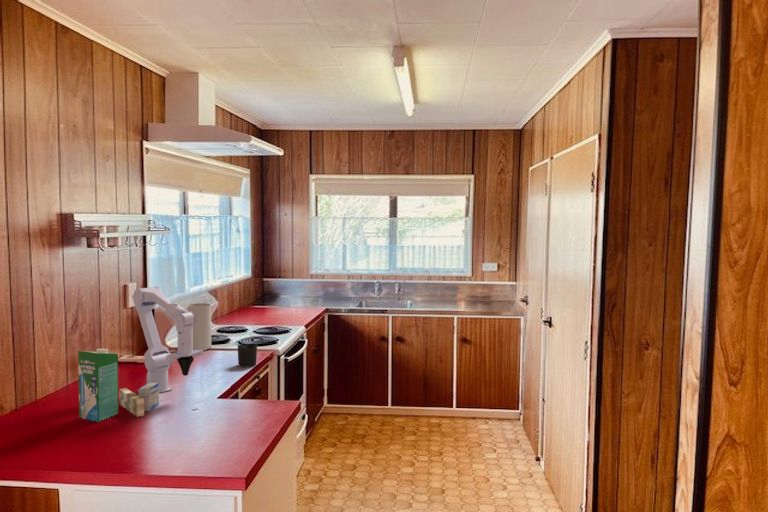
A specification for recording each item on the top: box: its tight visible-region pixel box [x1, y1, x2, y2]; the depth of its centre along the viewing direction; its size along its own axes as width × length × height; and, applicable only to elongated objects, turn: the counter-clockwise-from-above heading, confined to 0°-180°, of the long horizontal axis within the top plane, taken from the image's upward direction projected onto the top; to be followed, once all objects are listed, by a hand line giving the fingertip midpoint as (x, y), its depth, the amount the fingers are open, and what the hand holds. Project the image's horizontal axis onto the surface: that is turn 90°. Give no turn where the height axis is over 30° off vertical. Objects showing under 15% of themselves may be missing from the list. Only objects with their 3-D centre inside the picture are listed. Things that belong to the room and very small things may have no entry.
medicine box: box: [137, 383, 160, 412], centre depth 200 cm, size 8×4×9 cm, turn 179°
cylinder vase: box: [187, 302, 212, 352], centre depth 292 cm, size 12×12×25 cm
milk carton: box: [77, 348, 119, 423], centre depth 189 cm, size 9×9×25 cm
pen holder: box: [237, 343, 258, 367], centre depth 262 cm, size 9×9×10 cm
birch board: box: [118, 387, 145, 418], centre depth 197 cm, size 18×2×6 cm, turn 46°
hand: (185, 374), depth 212 cm, fingers closed
